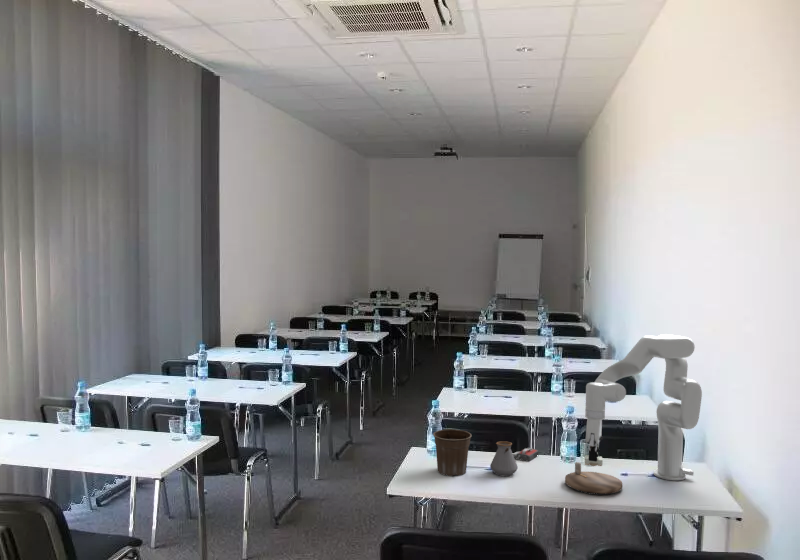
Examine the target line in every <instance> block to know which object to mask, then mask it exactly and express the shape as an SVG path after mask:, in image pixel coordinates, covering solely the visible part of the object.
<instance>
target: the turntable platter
mask: <svg viewBox="0 0 800 560" xmlns="http://www.w3.org/2000/svg"><path fill="white" fill-rule="evenodd" d="M564 482H565V484H566V485H567V486H568V487H570V488H572V489H574V490H575V489H577V490H576V491H578V490H580V491H579V492H581V491H584V492H590V493H601V494H603V495H606V494H605V493H611V494H613V493H618V492H620V491H621V490H622V489H623V481H622V480H621V479H619V477H616V476H614V475H611V474H607V473H603V472H597V471H582V462H579V461H576V462H575V463H574V472H570V473H568V474H565V477H564ZM584 492H583V493H584Z"/></svg>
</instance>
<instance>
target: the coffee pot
mask: <svg viewBox="0 0 800 560" xmlns="http://www.w3.org/2000/svg"><path fill="white" fill-rule="evenodd" d="M495 444H496V446H497V449H496V452H495V454H494V456H493V459H492V461H491V463H490V469H491V471H492V472H493V473H494V474H495V475H497V476H501V477H511V476H513V475H514V474H515V473H516V472H518V471H517V470H518V464H517V462H516V459H515V458H514V456H513V451H512V449H511V447H512V445H513V443H512V442H510V441H504V440H503V441H497V442H496V443H495Z"/></svg>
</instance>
